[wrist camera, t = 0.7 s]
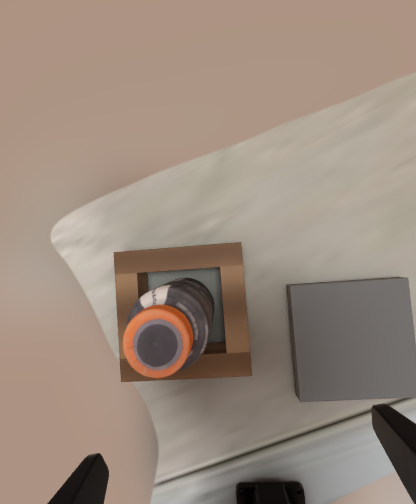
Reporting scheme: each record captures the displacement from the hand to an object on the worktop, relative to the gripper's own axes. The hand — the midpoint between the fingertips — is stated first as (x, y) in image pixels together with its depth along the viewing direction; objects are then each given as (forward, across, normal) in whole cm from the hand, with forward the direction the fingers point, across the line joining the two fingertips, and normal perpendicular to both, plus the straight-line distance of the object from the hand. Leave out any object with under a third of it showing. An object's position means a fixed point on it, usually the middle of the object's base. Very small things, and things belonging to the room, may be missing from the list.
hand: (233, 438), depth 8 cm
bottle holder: (+16, +4, +4) cm, 17 cm away
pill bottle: (+17, +4, +4) cm, 17 cm away
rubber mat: (+15, -11, +9) cm, 21 cm away
